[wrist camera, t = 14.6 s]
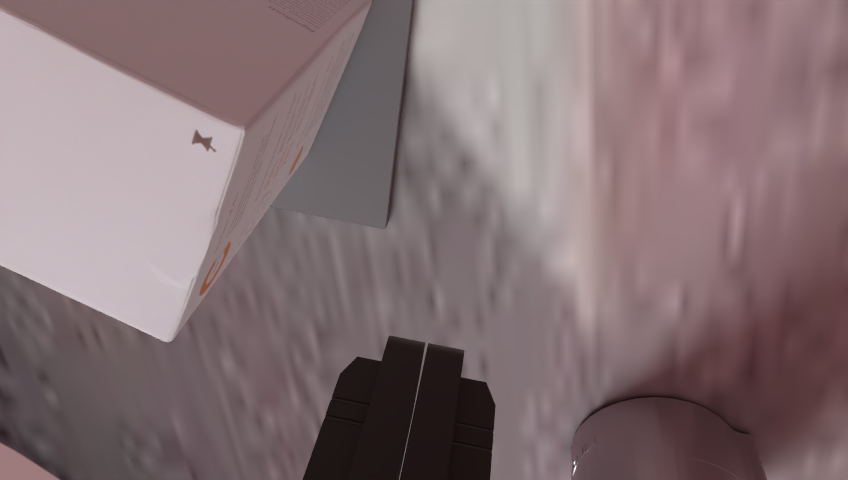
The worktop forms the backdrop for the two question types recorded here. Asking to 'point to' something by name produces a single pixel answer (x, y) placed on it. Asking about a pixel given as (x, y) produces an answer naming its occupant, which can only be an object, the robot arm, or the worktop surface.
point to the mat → (358, 128)
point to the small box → (155, 138)
